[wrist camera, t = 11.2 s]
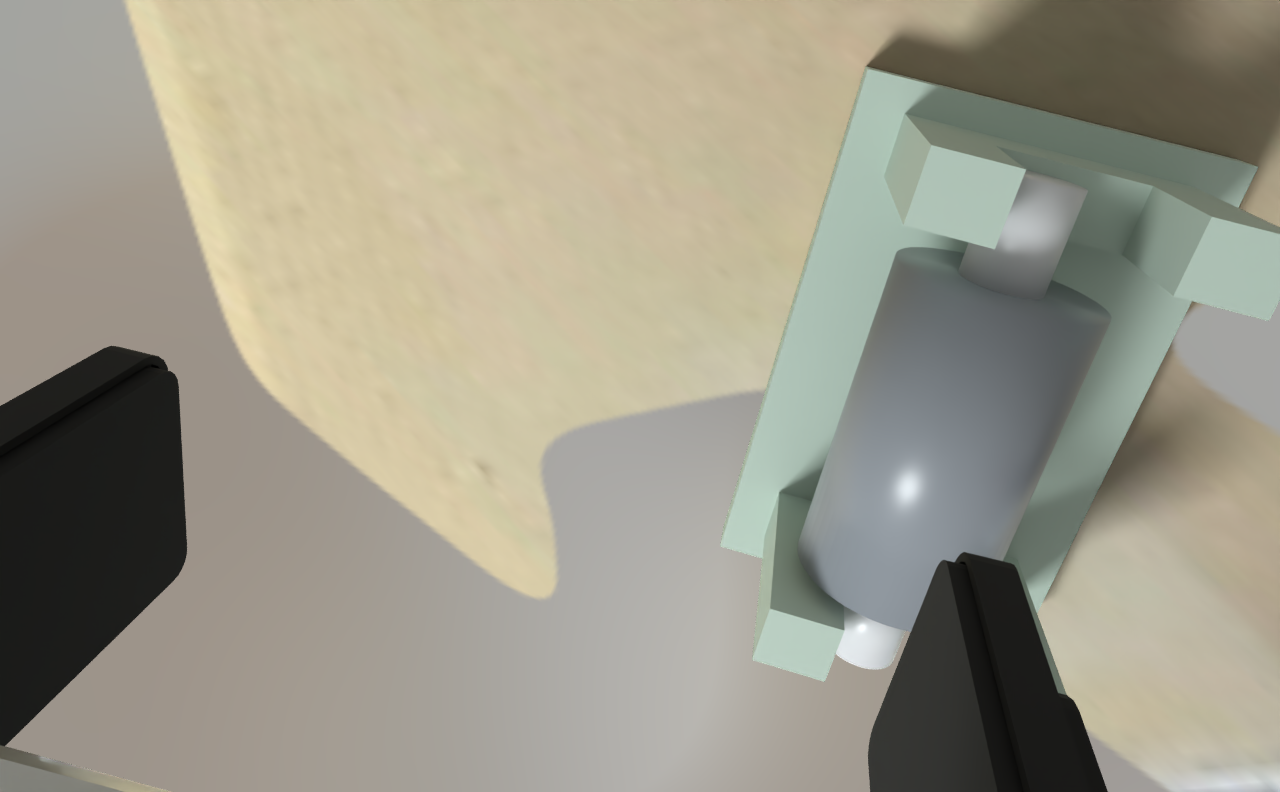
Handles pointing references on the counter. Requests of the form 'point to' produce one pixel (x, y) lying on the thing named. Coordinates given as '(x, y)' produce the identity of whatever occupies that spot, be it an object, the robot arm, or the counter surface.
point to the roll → (949, 417)
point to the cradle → (950, 219)
